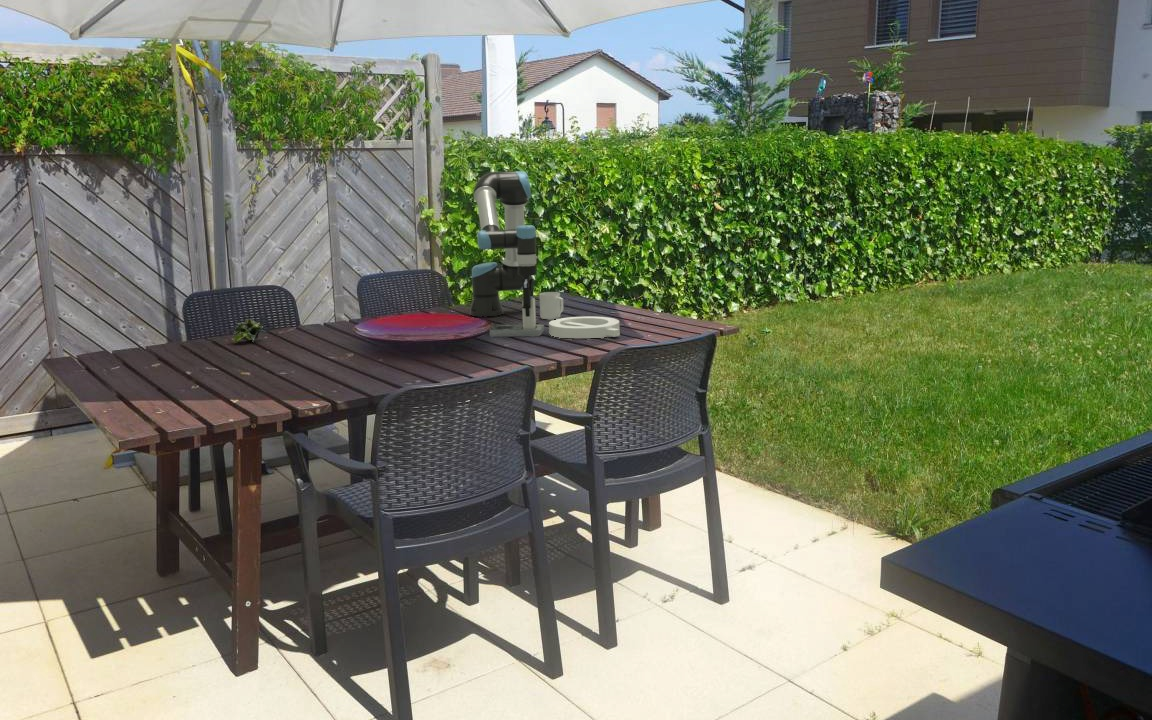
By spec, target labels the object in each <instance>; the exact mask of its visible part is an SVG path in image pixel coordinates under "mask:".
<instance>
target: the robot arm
mask: <svg viewBox="0 0 1152 720" xmlns="http://www.w3.org/2000/svg"><path fill="white" fill-rule="evenodd" d="M531 198H532V191H531V184H530V179H529V175H528V173H527V172H526V171H524V170H523V171H519V170H513V171H512V170H511V171H510V170H509V171H508V170H507V171H490V172H487V173H485V174H484V175H482V176H481V177H480V178H479V179H478V180H477V181H476V183H475V185H474V188H473V199H474V201H475V203H476V205H477V212H478V217H479V218H478V219H479V224H480V230H478V231H477V238H476V239H477V248H478V249H480V250H488V251H489V250H501V249H502V250H503V249H505V250H504V251H505V258H504V259H503V260H502V262H501V264H500V265H499V264H498V262H495V261H493V262H492V261H490V262H485V263H480V264H476V265H474V266H473V267H472V268H471V280H472V281H471V282H472V283H471V284H472V286H471V288H472V301H471V304H470V308H469V316H470V315H472V316H479V317H478V318H488V317H487V316H494V317H497V316H496V315H500V316H502V315H501V314H503V315H504V309H503V306H502V302H501V300H500V297H499V296H500V295H499V292H508V291H509V292H510V291H522V299H523V307H522V308H524V314H525V325H532V313H531V296H533V298H535V297H534V278H532V277H533V276H536V275H538V267H537V265H536V264H537V259H538V258H539V257H538V256H537V242H536V241H537V238H536V236H537V233H536V227H535V225H534V224H533V225H531V224H530V225H529V224H527V225H526V224H525V207H526V205H527V204H528V202H529V201H528V200H529V199H531ZM496 200H500V203H501V205H503V207H504V229H500V223H499V222H500V221H499V217H498V212H497V211H498V210H497V205H496ZM522 308H521V309H522ZM472 316H471V317H472ZM482 316H484V317H482Z"/></svg>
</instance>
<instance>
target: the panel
mask: <svg viewBox="0 0 1152 720" xmlns="http://www.w3.org/2000/svg"><path fill="white" fill-rule="evenodd" d="M543 331H544V332H545V324H537V323H536V329H523V324H495V325H493V327H492V328H491V329H490V330H489V337H490V338H491V337H492V338H493V337H494V338H496V337H499V338H500V337H502V338H503V337H506V338H511V337H514V338H515V337H541V336H540V335H542V334H543V333H544V332H543ZM542 332H543V333H542Z"/></svg>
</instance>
